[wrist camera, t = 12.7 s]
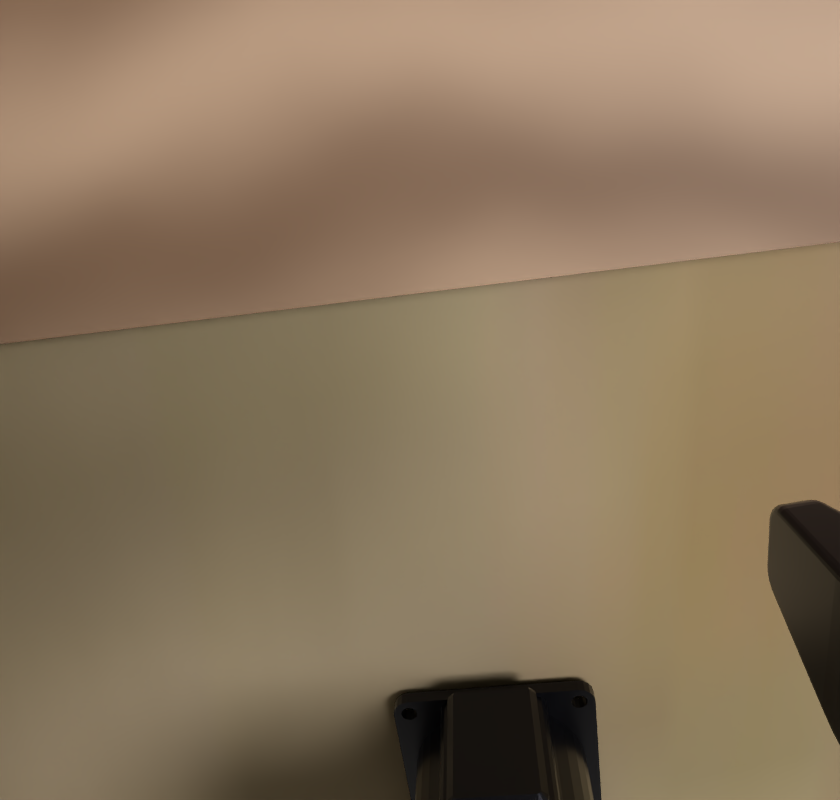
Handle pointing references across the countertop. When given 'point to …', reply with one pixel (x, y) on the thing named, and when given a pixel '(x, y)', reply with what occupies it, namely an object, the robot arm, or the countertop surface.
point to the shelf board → (395, 147)
